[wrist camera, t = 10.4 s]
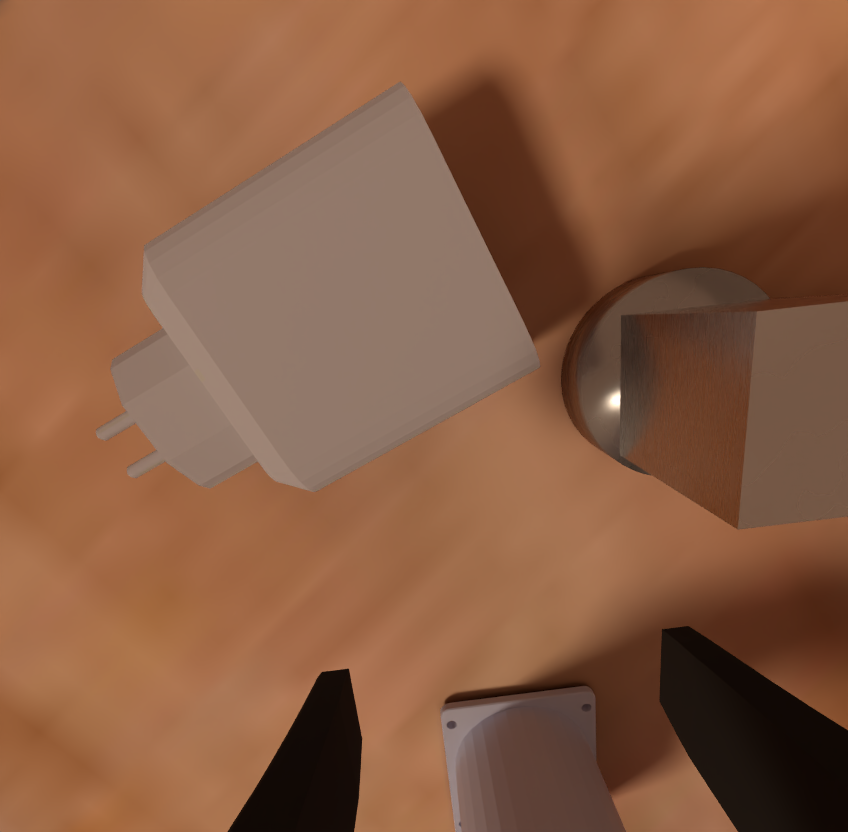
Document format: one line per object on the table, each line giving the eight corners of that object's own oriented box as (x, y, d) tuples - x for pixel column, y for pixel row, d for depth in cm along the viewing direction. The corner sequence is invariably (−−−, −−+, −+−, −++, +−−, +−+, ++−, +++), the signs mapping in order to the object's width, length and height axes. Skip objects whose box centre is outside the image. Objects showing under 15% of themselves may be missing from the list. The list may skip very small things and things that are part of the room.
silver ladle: (969, 419, 18) (1181, 456, 13) (563, 468, 18) (622, 525, 13) (1009, 233, 17) (1274, 195, 11) (557, 286, 16) (624, 270, 11)
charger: (83, 342, 16) (402, 142, 15) (220, 520, 18) (511, 357, 17) (-45, 350, 12) (400, 63, 10) (156, 587, 14) (549, 370, 12)
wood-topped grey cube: (753, 439, 16) (944, 504, 10) (619, 454, 16) (737, 529, 10) (766, 298, 15) (993, 284, 9) (620, 315, 14) (757, 311, 9)
